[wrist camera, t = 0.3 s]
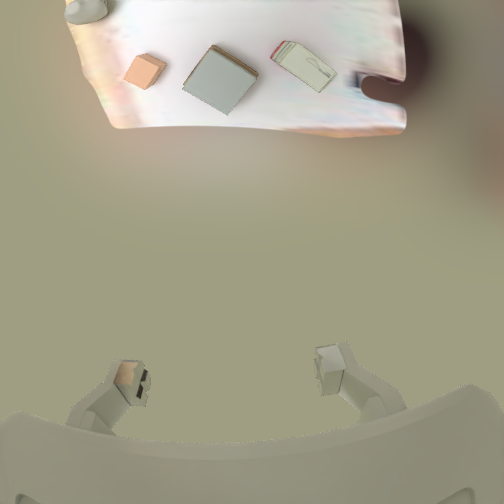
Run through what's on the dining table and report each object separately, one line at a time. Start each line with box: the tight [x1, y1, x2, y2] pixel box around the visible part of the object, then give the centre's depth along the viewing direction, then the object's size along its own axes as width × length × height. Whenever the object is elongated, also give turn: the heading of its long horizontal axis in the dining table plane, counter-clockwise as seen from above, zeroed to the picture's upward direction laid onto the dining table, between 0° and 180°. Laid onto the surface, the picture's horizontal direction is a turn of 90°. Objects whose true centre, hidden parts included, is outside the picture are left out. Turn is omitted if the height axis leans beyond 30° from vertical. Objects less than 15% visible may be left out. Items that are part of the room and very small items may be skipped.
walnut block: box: [183, 45, 258, 85], centre depth 43 cm, size 9×10×5 cm
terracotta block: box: [123, 54, 166, 90], centre depth 40 cm, size 5×5×6 cm
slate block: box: [182, 49, 257, 115], centre depth 39 cm, size 8×9×5 cm
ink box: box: [270, 41, 337, 93], centre depth 39 cm, size 8×5×12 cm, turn 55°
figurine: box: [64, 0, 108, 25], centre depth 26 cm, size 8×5×12 cm
